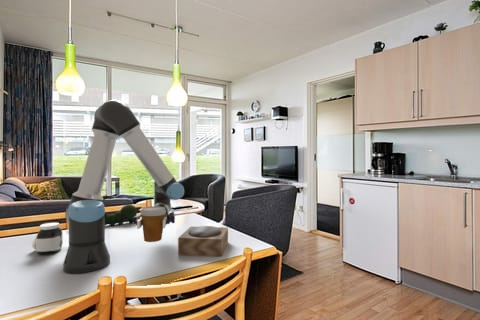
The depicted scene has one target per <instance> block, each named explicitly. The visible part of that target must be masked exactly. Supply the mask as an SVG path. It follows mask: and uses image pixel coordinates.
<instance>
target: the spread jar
mask: <svg viewBox="0 0 480 320" xmlns="http://www.w3.org/2000/svg"><path fill="white" fill-rule="evenodd" d="M63 237H64V235H63V230H62V228H61V227H60V223H59V222H45V223H42V224H40V225H39V231H38V233H37V234H36V237H35V238H34V239H33V241H32V244H31V247H32V249H34V250H36V252H37V254H39V255H41V256H44V255H46V256H47V255H53V254H56V253H58V252H60V251H61V250H62V247H63V242H64V241H63V239H64V238H63Z"/></svg>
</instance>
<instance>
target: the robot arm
mask: <svg viewBox="0 0 480 320" xmlns="http://www.w3.org/2000/svg"><path fill="white" fill-rule="evenodd" d="M93 119H94V120H93V123H92V127H91V131H92V133H93V138H92V143H91V145H90V147H89V148H90V149H89V152H88V155H87V158H86V162H85V164H84V165H85V166H84V169H83V172H82V175H81V179H80V183H79V186H78V189H77V191H75V192H73V193H72V195H71V198H70V201H69V205H68V206H67V207H66V210H65V213H64V214H65V219H66V222H67V224H68V249H67V250H66V251H67V252H66V254H65V257H64V261H63V265H62V267H63V268H62V269H63V272H65V273H66V274H67V273H68V274H85V273H90V272H95V271H98V270H100V269H103V268H105V267H107V266H108V265H109V264H110V262H111V256H110V253H109V250H108V247H107V244H106V238H105V236H106V231H105V229H106V228H105V226H106V225H105V212H106V208H105V204H104V201H103V197H102V196H103V195H102V191H103V187H104V184H105V181H106V178H107V177H106V176H107V174H108V169H109V167H110V163H111V159H112V155H113V152H114V149H115V145H116V141H117V140H119V139H121V138H123V139H124V141H125V142H126V144H127V145H128V146H129V148H130V149H131V150H132V152H133V153H134V154H135V156H136V157H137V158H138V160H139V161H140V164H142V165H143V167H144V168H145V170H146V171H147V172H148V174H149V176H151V178H152V179H153V181H154V183H153V185H154V186H153V188H154V189H153V190H154V195H153V197H154V199H153V202H154V203H153V206H160V207H165V210H166V213H165V217H164V219H163V229H166V226H167V225H169V224H175V223H176V221H175V220H176V218H175V217H176V216H175V212H174V211H171V210H172V203H171V200H172V201H177V200H180V199H181V198H183V197H184V195H185V188H184V185H183V184H182V183H180V182H178V181H177V180H176V178H175V177H174V175H173V173H172V172H171V171H170V169H169V168H168V167H167V165H166V164H165V163H164V161H163V160H162V157H160V155H159V154H158V152H157V151H156V149H155V148H154V147H153V145H152V143H151V142H150V140H149V139H148V138H147V136H146V135H145V133H144V132H143V130H142V128H141V123H140V121H139V119H138V118H137V116H135V114H134V113H133V111H132V109H131V108H130V107H129V106H128V104H126V103H125V102H123V101H121V100H117V99H110V100H107V101H105V102H104V103H103V104H102V105H100V106H99V107H98V108H97V109H96V110H95V113H94V116H93ZM133 224H134V225H136V227H137V229H138V230H139V229H140V228H142V227H143V225H142V217H141V213H139V214H137V215H136V216H135V217H134V222H133Z"/></svg>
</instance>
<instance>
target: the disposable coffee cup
mask: <svg viewBox="0 0 480 320" xmlns="http://www.w3.org/2000/svg"><path fill="white" fill-rule="evenodd" d="M165 213H166V210H165V207H160V206H154V205H153V206H145V207H142V208H141V209H140V212H139V214H141V217H142V233H143V239H144V241H145V242H147V243H156V242H159V241H162V239H163V230H164V228H163V219H164V217H165Z"/></svg>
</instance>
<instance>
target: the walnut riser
mask: <svg viewBox="0 0 480 320" xmlns="http://www.w3.org/2000/svg"><path fill="white" fill-rule="evenodd" d="M177 241H178V242H177V245H178V246H177V249H178V250H177V251H178V252H177V253H178V254H177V255H178V256H201V257H222V255H224V252H225V249H226V247H227V246H228V243H229V227H222V226H221V227H220V226H219V227H217V226H213V225H212V226H211V225H202V226H201V225H200V226H189V228H187V229H186V230H185V231H184V232H183V233H182V234H181V235H179V236H178V238H177Z"/></svg>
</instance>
